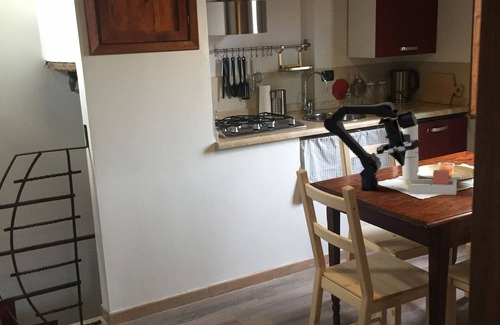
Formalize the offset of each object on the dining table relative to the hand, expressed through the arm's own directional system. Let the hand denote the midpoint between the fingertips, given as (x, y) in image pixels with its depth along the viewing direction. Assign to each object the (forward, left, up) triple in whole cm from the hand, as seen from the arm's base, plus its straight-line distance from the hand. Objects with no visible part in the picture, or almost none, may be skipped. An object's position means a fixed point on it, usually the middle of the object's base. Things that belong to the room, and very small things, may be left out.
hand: (403, 165), depth 224 cm
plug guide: (+12, 0, -11) cm, 16 cm away
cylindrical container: (+1, +19, -11) cm, 22 cm away
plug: (+15, 0, -11) cm, 19 cm away
